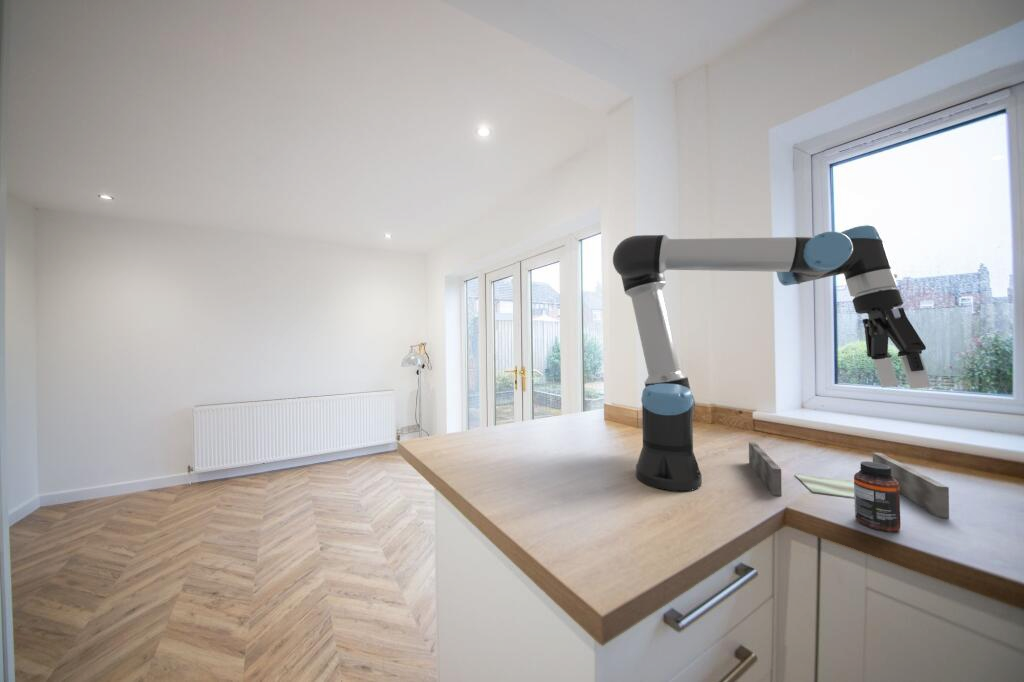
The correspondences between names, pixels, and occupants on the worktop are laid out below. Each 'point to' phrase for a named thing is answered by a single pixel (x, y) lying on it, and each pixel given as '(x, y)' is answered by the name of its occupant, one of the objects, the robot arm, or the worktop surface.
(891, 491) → the supplement bottle
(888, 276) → the robot arm
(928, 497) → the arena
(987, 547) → the worktop surface
